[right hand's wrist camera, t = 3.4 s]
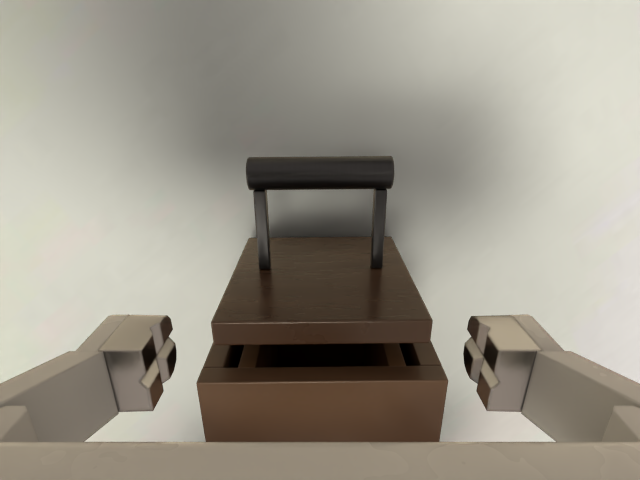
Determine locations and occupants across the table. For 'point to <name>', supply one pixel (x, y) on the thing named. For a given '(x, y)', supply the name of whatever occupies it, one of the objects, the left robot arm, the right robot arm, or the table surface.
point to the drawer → (321, 279)
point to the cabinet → (323, 400)
